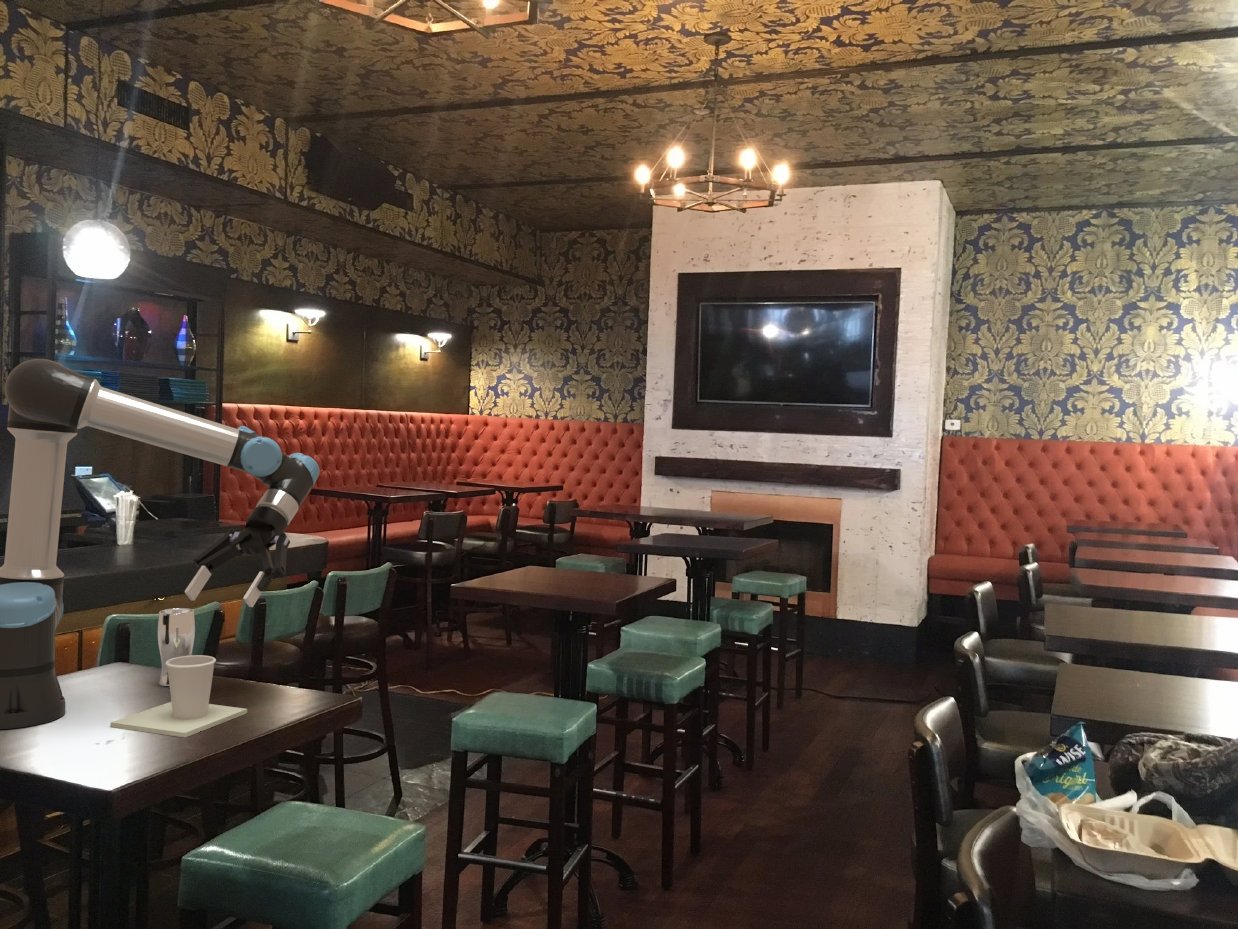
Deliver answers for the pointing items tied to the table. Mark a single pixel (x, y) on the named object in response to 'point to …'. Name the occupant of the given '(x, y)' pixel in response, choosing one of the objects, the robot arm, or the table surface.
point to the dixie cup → (190, 685)
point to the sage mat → (176, 720)
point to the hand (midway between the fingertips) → (218, 599)
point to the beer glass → (175, 636)
